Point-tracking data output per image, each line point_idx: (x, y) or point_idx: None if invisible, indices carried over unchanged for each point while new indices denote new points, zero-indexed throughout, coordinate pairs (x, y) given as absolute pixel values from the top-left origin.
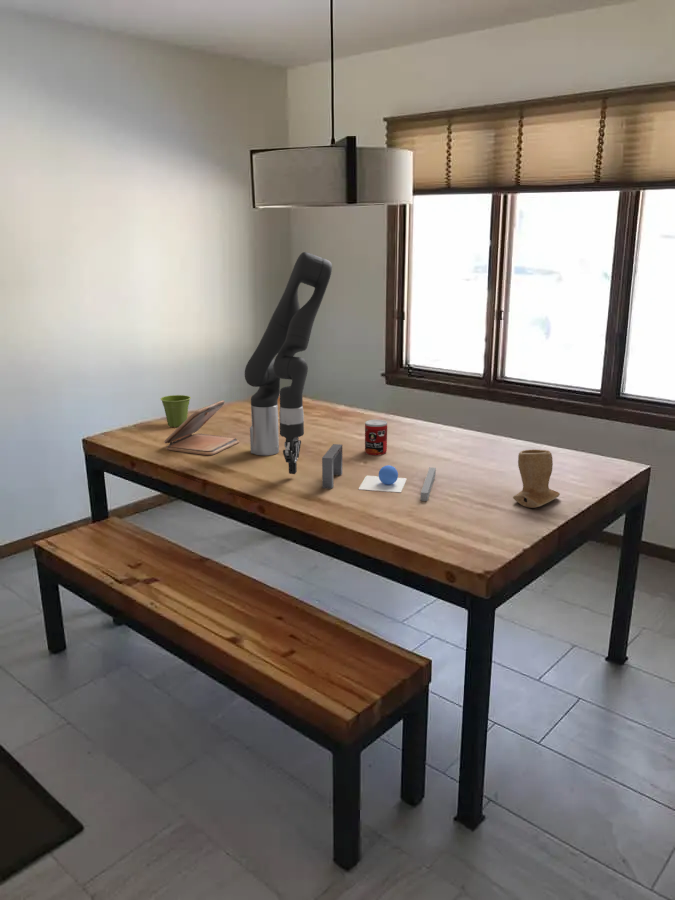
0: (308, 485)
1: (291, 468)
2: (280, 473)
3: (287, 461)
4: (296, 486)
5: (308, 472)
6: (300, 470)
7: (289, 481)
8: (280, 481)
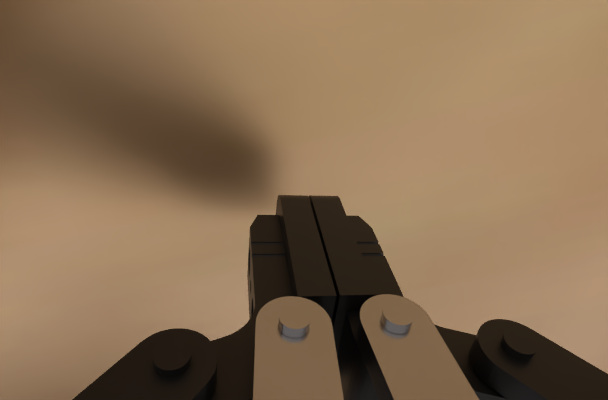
0: (101, 360)
1: (251, 281)
2: (455, 14)
3: (139, 377)
4: (26, 286)
5: (462, 282)
6: (532, 209)
7: (163, 189)
8: (131, 88)
